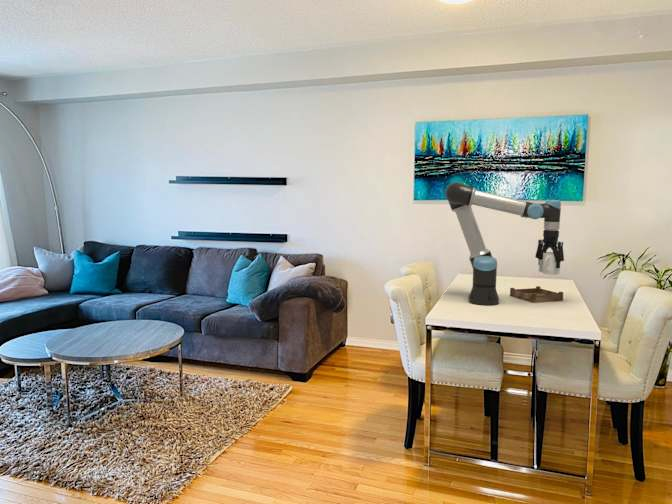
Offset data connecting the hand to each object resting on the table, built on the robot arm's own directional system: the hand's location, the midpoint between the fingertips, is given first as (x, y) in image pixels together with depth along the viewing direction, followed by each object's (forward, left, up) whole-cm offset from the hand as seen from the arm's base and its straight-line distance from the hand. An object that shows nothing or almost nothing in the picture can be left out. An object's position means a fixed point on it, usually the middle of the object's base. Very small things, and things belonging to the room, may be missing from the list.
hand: (548, 273), depth 271 cm
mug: (0, 0, 0) cm, 1 cm away
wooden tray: (-6, +5, -15) cm, 17 cm away
